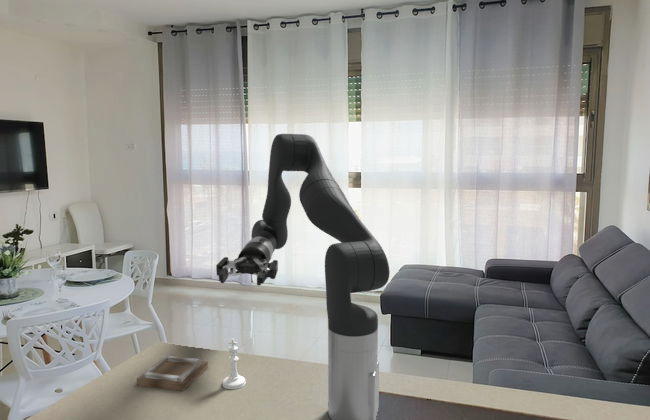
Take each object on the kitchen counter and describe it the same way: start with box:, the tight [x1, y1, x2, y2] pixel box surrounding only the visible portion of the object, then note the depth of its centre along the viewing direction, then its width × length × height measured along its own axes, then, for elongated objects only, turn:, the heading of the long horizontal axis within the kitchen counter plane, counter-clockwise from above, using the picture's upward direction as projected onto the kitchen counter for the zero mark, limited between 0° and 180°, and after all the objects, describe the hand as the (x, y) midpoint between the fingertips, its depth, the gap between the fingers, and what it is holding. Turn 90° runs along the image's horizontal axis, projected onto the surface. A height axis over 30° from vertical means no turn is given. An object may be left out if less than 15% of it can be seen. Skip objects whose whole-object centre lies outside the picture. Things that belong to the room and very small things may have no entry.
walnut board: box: [136, 355, 209, 392], centre depth 107 cm, size 11×11×2 cm
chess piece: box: [222, 338, 247, 390], centre depth 103 cm, size 5×5×10 cm
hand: (240, 280), depth 109 cm, fingers open, 8 cm apart
